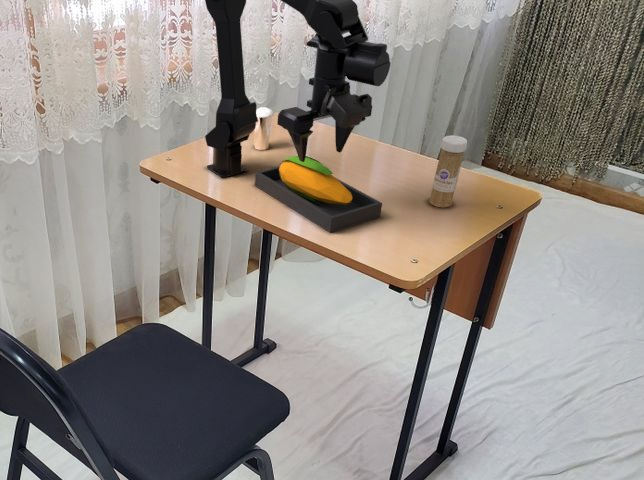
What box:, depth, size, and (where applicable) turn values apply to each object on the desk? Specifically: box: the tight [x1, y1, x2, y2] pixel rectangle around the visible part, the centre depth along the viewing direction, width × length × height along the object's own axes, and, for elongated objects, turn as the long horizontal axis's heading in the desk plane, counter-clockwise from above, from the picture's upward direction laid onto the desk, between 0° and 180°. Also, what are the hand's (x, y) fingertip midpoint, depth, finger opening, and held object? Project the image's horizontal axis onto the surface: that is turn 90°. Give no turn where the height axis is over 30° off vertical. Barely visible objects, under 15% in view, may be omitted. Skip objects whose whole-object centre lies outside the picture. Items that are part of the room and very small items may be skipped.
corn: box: [279, 155, 353, 205], centre depth 147 cm, size 7×8×20 cm
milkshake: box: [253, 106, 275, 151], centre depth 169 cm, size 4×5×10 cm
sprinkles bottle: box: [428, 135, 468, 208], centre depth 144 cm, size 5×5×14 cm
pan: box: [254, 165, 383, 233], centre depth 149 cm, size 25×13×3 cm, turn 31°
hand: (320, 156), depth 144 cm, fingers open, 9 cm apart
